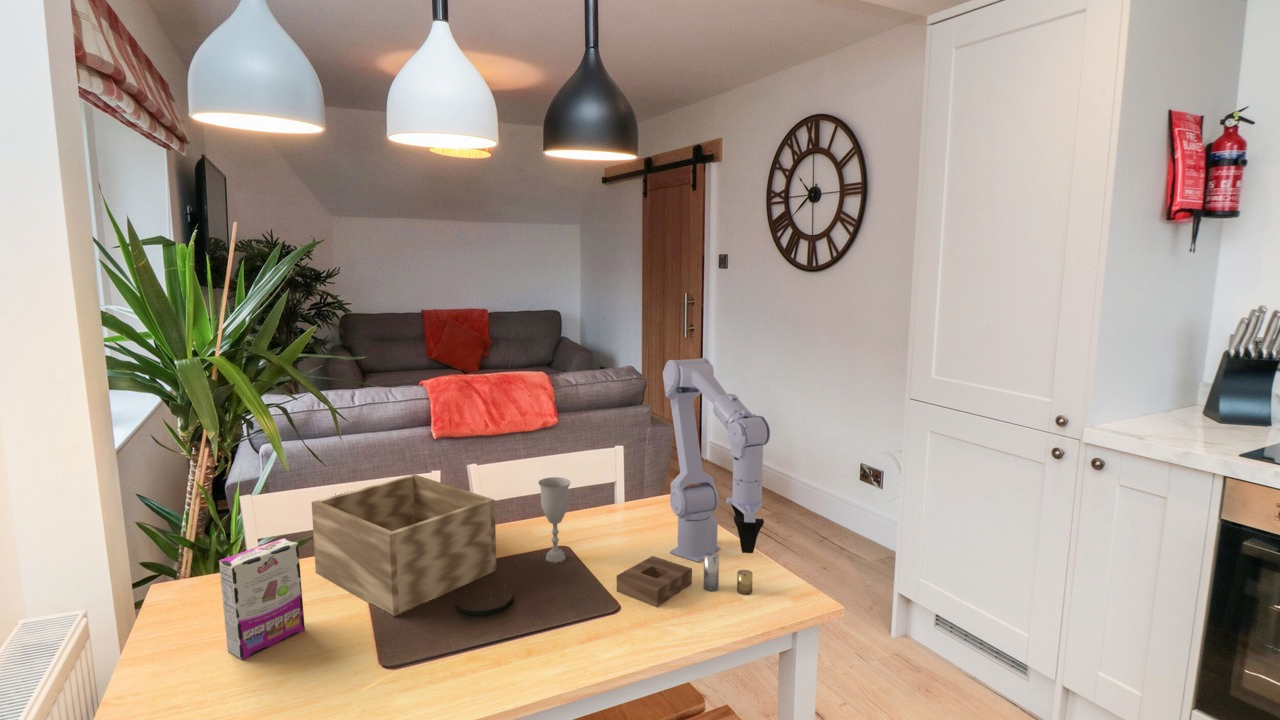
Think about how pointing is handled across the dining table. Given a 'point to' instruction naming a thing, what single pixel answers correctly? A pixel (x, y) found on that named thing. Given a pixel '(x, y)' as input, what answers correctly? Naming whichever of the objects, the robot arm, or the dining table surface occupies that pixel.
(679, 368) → the robot arm
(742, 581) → the brass pin
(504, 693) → the dining table surface
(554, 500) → the chalice
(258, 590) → the candy bar box
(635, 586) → the walnut block
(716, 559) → the steel pin
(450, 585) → the wooden crate
